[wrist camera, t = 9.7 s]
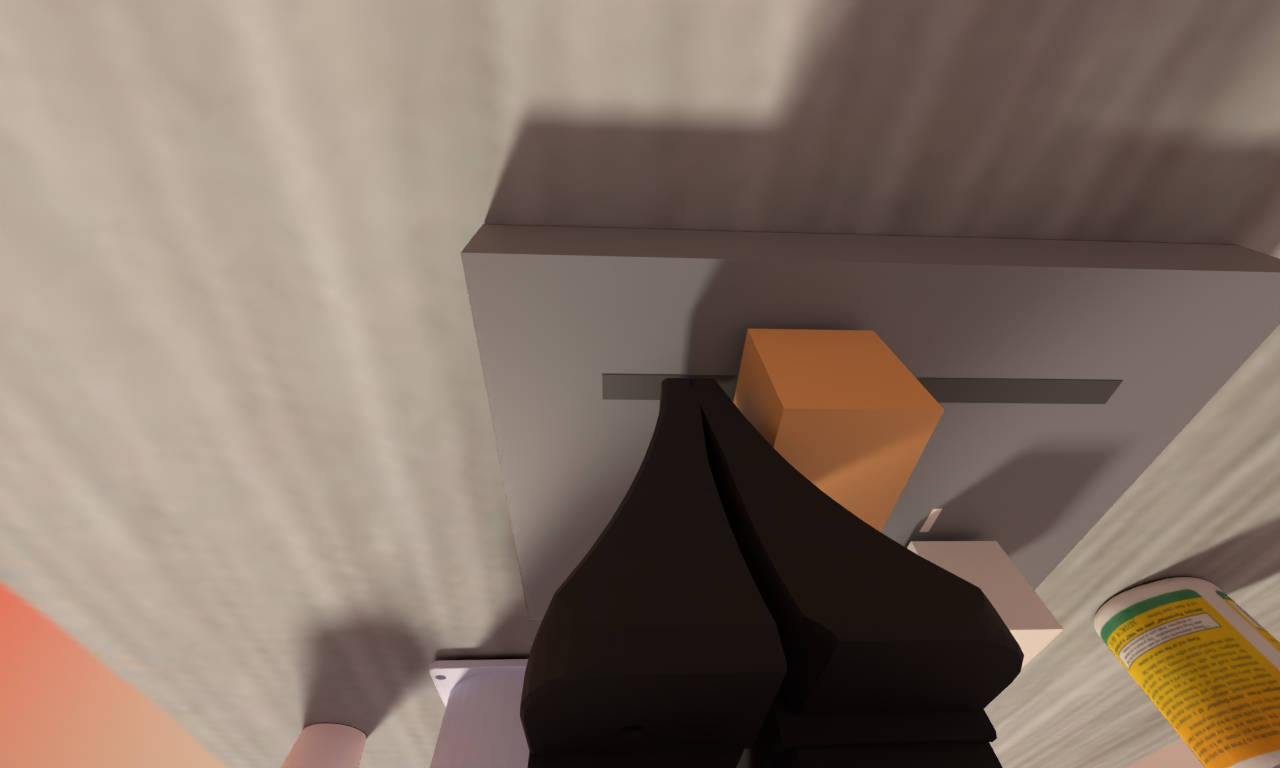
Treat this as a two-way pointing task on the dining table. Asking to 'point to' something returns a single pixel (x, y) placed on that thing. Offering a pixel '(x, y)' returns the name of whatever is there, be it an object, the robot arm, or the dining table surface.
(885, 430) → the block
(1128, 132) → the dining table surface
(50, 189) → the dining table surface
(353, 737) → the smoothie
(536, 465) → the fader console
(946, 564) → the off white fader
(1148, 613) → the supplement bottle
